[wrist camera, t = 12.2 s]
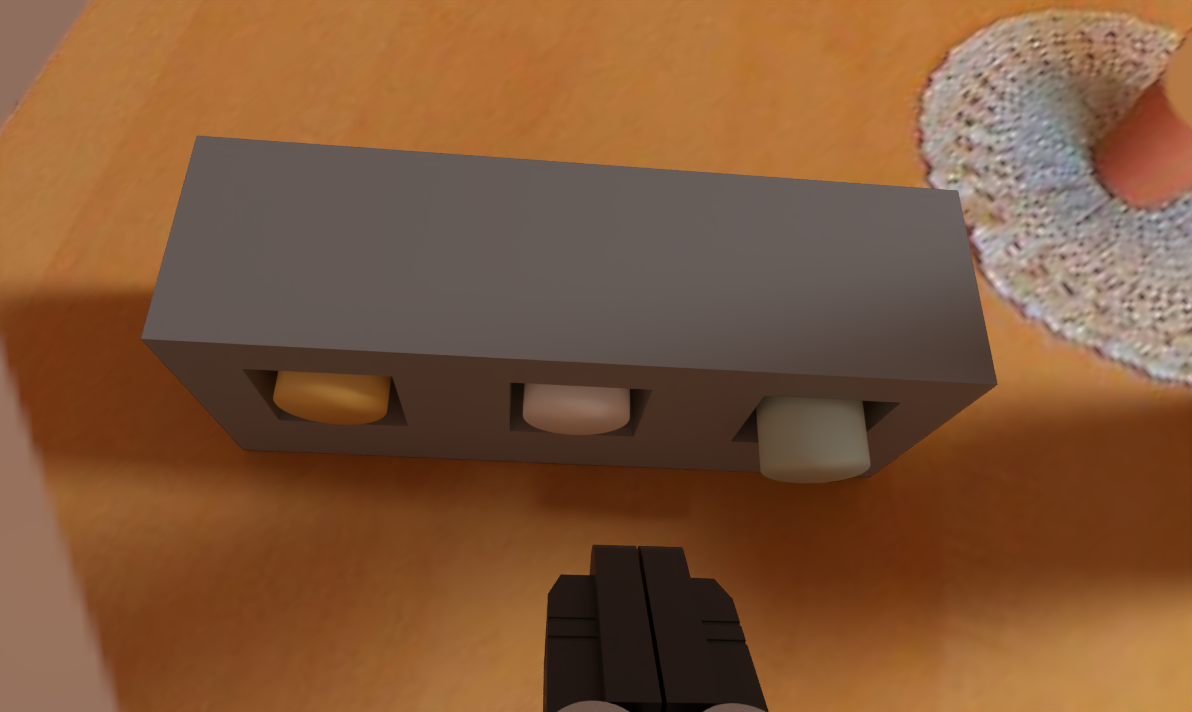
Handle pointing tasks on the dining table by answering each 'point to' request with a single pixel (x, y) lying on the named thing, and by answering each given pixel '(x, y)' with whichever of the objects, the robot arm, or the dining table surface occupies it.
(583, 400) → the cream button
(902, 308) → the console
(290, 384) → the amber button
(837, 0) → the dining table surface
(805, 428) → the sage button
